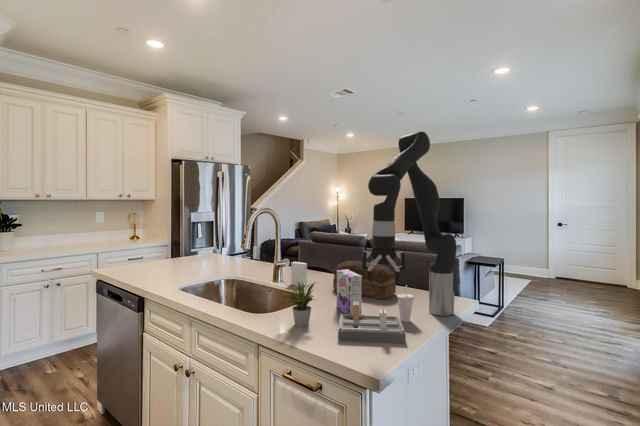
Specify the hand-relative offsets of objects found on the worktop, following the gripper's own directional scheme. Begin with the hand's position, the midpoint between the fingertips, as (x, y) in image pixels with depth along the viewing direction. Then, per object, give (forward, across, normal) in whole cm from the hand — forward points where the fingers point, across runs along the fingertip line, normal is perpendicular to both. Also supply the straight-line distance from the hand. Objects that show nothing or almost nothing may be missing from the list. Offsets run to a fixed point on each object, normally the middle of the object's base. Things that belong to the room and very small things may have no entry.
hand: (383, 282), depth 118 cm
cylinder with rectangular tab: (+19, +40, -71) cm, 84 cm away
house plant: (+19, +29, -11) cm, 36 cm away
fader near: (+15, 0, 0) cm, 15 cm away
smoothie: (+19, -10, -18) cm, 28 cm away
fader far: (+15, +9, -8) cm, 20 cm away
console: (+19, +4, -4) cm, 20 cm away
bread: (+19, +5, -59) cm, 62 cm away
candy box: (+19, +12, -27) cm, 35 cm away
